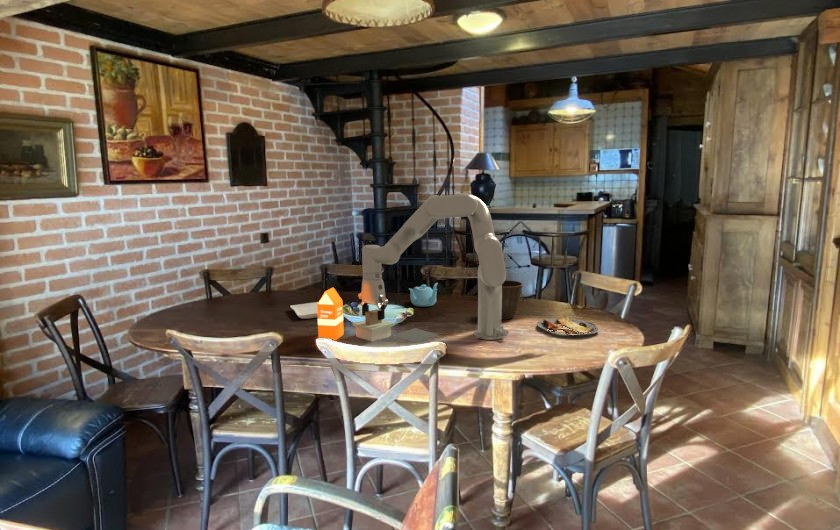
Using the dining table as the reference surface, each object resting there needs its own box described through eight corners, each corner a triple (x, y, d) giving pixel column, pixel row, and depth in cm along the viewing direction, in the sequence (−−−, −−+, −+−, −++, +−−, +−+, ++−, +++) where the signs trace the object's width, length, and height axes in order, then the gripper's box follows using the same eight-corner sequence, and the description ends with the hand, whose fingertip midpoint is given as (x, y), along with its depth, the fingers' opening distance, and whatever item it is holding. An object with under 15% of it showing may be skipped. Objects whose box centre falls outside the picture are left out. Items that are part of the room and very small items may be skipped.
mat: (439, 335, 214) (439, 334, 214) (415, 343, 204) (415, 342, 204) (415, 329, 224) (415, 328, 224) (391, 336, 214) (391, 335, 214)
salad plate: (298, 322, 238) (297, 314, 237) (289, 311, 257) (289, 304, 256) (343, 316, 246) (343, 309, 246) (331, 306, 266) (331, 300, 265)
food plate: (527, 324, 228) (527, 317, 228) (571, 319, 237) (572, 312, 236) (561, 343, 206) (562, 334, 205) (609, 336, 214) (610, 328, 213)
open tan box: (391, 337, 213) (390, 325, 212) (372, 342, 206) (372, 330, 205) (375, 332, 220) (374, 320, 219) (356, 337, 213) (356, 325, 212)
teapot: (411, 300, 275) (411, 281, 274) (439, 301, 274) (439, 282, 272) (408, 307, 261) (407, 287, 259) (438, 308, 260) (438, 288, 258)
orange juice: (344, 333, 218) (342, 287, 215) (336, 340, 210) (334, 291, 206) (326, 332, 220) (324, 286, 217) (318, 339, 211) (315, 291, 208)
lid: (394, 325, 212) (394, 311, 211) (371, 331, 204) (371, 316, 203) (375, 320, 220) (374, 306, 219) (352, 325, 212) (352, 311, 211)
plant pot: (495, 322, 233) (496, 287, 230) (484, 314, 247) (485, 281, 245) (526, 320, 236) (527, 285, 233) (514, 312, 250) (515, 279, 248)
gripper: (393, 277, 205) (394, 319, 208) (365, 272, 217) (366, 311, 220) (379, 280, 200) (380, 323, 203) (351, 274, 212) (352, 315, 215)
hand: (373, 317), depth 211 cm, fingers open, 9 cm apart
